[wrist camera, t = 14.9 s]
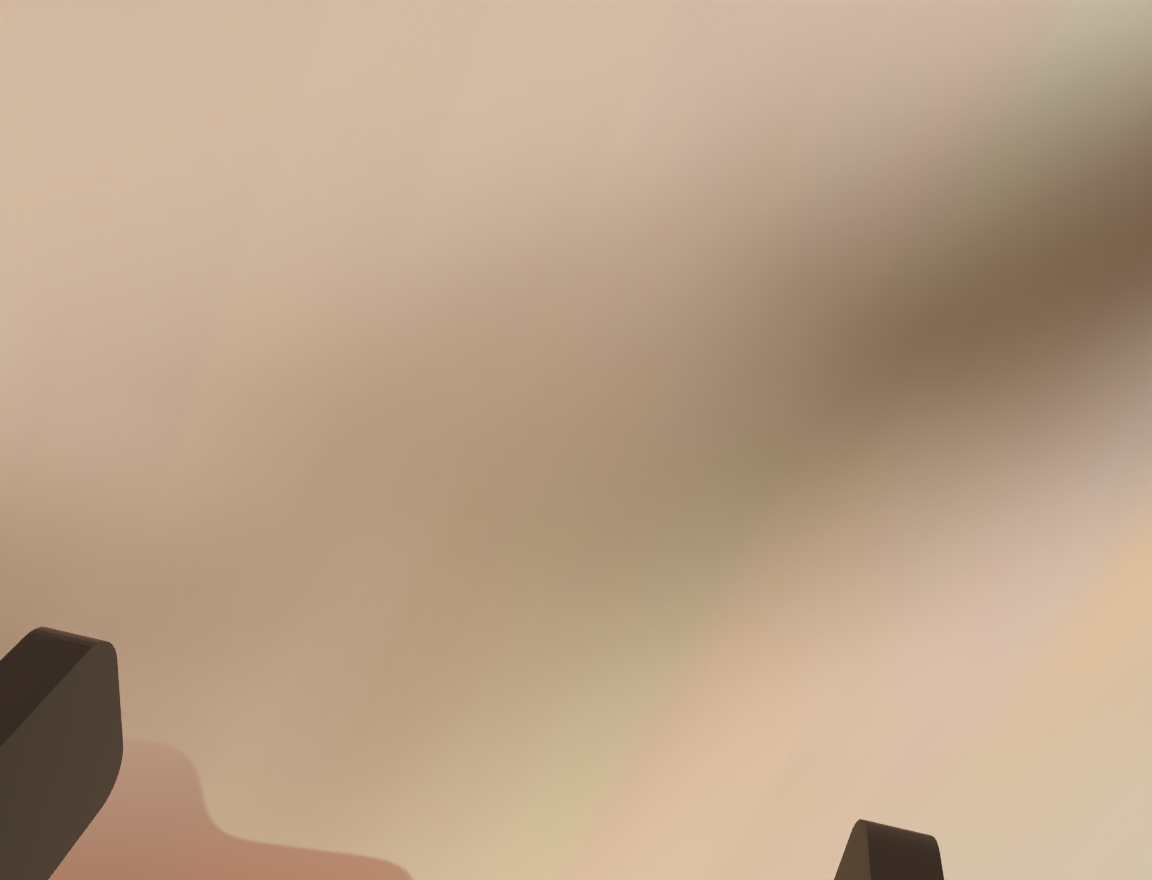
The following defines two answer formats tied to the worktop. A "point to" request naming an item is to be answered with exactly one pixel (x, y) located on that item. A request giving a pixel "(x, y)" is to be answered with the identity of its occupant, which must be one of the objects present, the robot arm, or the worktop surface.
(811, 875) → the worktop surface
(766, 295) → the worktop surface
